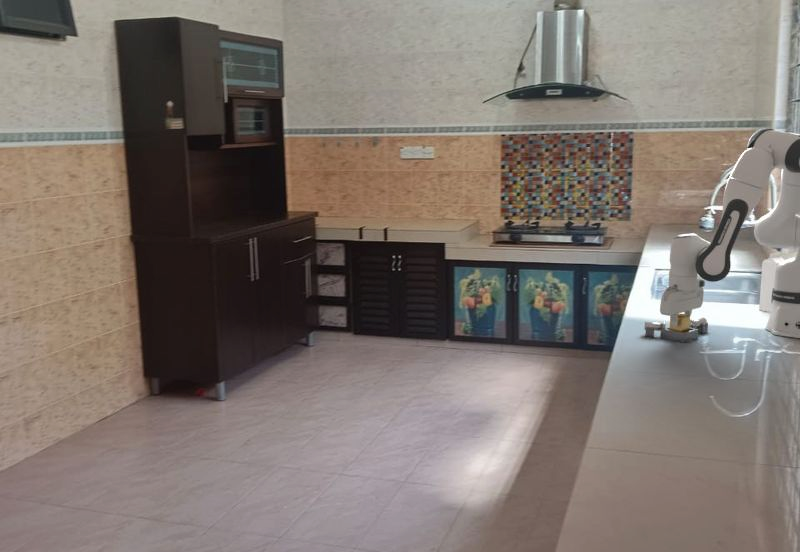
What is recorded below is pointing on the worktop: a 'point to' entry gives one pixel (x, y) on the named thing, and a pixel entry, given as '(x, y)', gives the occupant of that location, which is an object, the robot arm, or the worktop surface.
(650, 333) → the grey brown arch block
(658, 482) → the worktop surface
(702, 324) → the grey irregular block
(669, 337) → the box
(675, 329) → the coupler
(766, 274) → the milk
